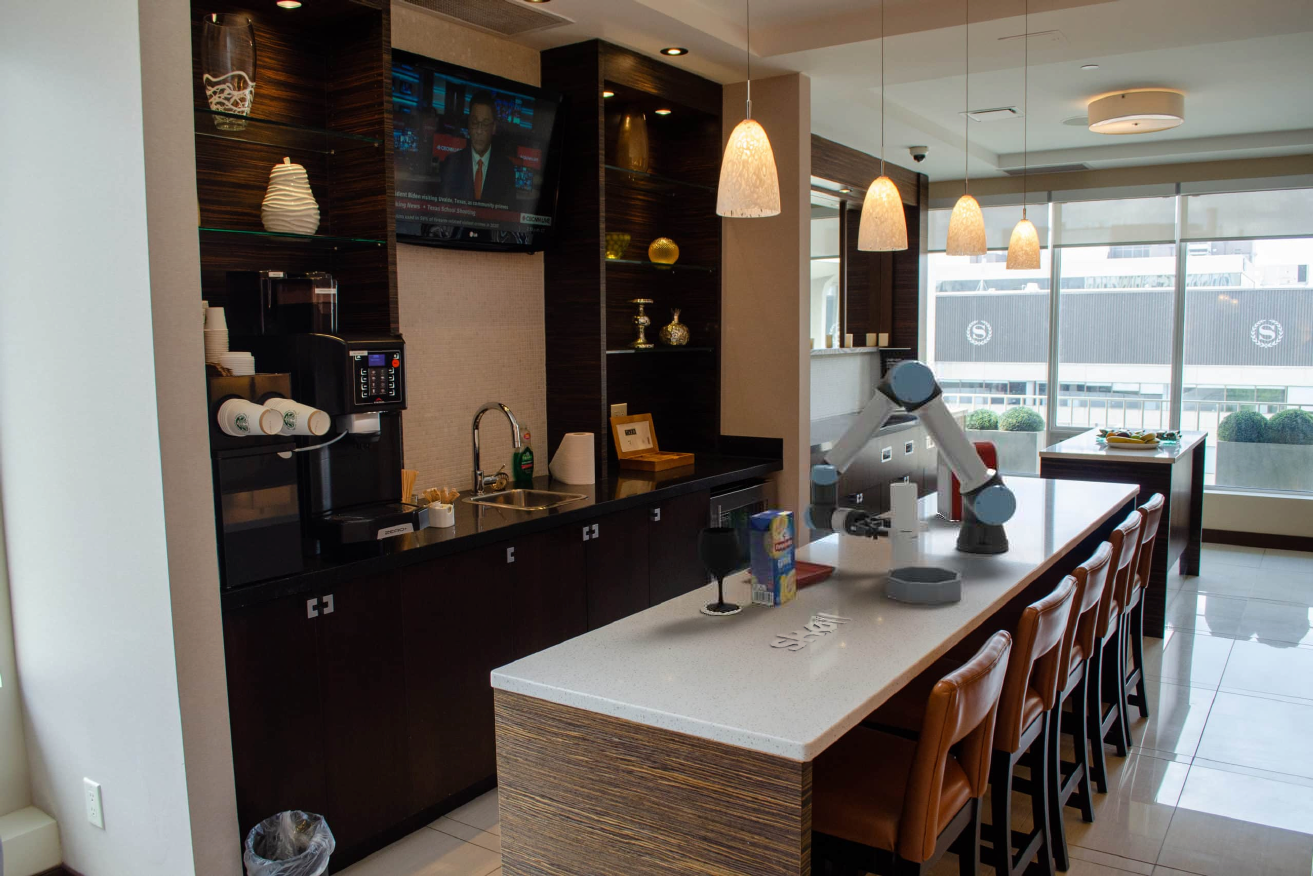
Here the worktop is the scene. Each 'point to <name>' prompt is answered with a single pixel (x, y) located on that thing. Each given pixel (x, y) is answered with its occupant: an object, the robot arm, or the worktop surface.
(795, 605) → the worktop surface
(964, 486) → the robot arm
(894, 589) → the bowl
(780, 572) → the beverage box
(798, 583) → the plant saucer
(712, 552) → the wine glass
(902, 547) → the cylindrical container
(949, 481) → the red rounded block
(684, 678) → the worktop surface
